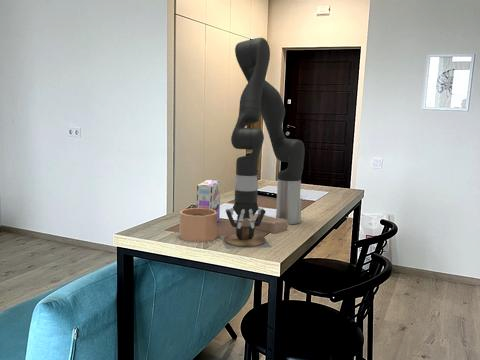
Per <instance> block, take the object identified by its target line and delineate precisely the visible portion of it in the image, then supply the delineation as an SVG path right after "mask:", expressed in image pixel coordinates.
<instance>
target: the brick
mask: <svg viewBox="0 0 480 360" xmlns="http://www.w3.org/2000/svg"><path fill="white" fill-rule="evenodd" d="M257 216H258V213H255V214H254V216H253V219H254V222H255V221H256V218H257ZM241 226H249V227H250V225H249V220H248V218H244V219H243V221H242V224H241ZM288 227H289V224H288V221H287V220H285V219H281V218H276V217H273V216H269V215H266V214H264V217H263V219H262V221H261V223H260V225H259V226H256V227H255V228H254V230H255V229H256V230H258V231H263V232H266V233H269V234H279V233H281V232H285V231H287V230H288Z"/></svg>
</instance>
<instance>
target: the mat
mask: <svg viewBox="0 0 480 360" xmlns="http://www.w3.org/2000/svg"><path fill="white" fill-rule="evenodd" d="M227 235H228V234H227ZM227 235H219V238H220V240H221V242H222V243H223V245H224V247H225V249H230V250H231V249H251V248H252V249H253V248H257V249H258V248H259V249H261V248H273V247H272V244H270V243H269V242H268V240H266V242H265V244H263V245H261V246H256V247H237V246H232V245H229V244H226V243H225V242H224V237H225V236H227ZM258 235H260V236H263V235H262V234H260V233H259V234H258Z"/></svg>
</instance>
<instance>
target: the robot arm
mask: <svg viewBox="0 0 480 360" xmlns="http://www.w3.org/2000/svg"><path fill="white" fill-rule="evenodd" d="M270 51H271V48H270V45H269V43H268V40H267V39H266V38H265V37H256V38H251V39H247V40H243V41H239V42H238V43H236V45H235V48H234V53H235V54H234V55H235V58H236V61H237V64H238V66H239V68H240V70H241V72H242V74H243V75H244V78H245V80H246V82H247V83H246V85H245V87H244V88H243V91H242V93H241V95H240V99H239V108H238V110H239V111H238V117H237V120H236V124H235V125H234V128H233V130H232V134H231V137H230V142H231V146H232V147H233V148H234V149H235V150H236V149H237V150H251V153H250V154H248V155H243V156H239V157H237V158H236V162H235V166H236V167H235V181H234V204H233V206H232V207H231V208H229V209H228V208H226V209H225V213H226V216H227V219H228V220H229V223H230V225H231V226H232V227H233V228H236V229H235V234H236V236H237V238H238V239H241V226H242V224H243V223H242V221H243V219H244V218H248V220H249V225H250V239H252V237H254V234H255V227H256V226H259V225H260V223H261V221H262V219H263V217H264V215H266V210H265V209H264V208H261V207H259V206H258V189H259V182H258V181H259V180H258V164H259V163H258V162H259V158H260V157H259V156H260V153H261V150H262V146H263V145H264V140H265V135H264V132H263V131H262V129H261V128H258V127H247V126H249V125H252V124H256V123H259V122H260V119H261V118H262V119H263V122H264V124H265V128H266V130H267V133H268V137H269V140H270V143H271V146H272V150H273V153H274V156H275V159H277V160H278V161H280V162H283V163H288V164H287V168H286V169H283V170H280V171H278V172H277V182H276V183H277V186H276V189H277V190H276V211H275V212H276V215H275V218H281V219H285V220H287V221H288V225H297V224H301V223H302V222H301V221H302V203H303V202H302V201H303V200H302V199H301V190H302V189H301V186H302V175H303V172H304V171H303V170H304V164H305V163H304V162H305V145H304V142H303V141H302V140H300V139H294V138H287V137H286V135H285V133H284V130H283V123H284V119H285V115H286V107H285V104H284V101H283V98H282V96H281V94H280V92H279V91H278V90H277V89H276V88H275V87H274V85H272V84H270V82H268V81H267V80H266V76H267V73H268V68H269V63H270V58H271V52H270ZM260 117H261V118H260ZM234 213H235V214H236V215H237V217H236V222H235V221H234V218H233V216H234ZM254 214H258V216H257V218H256V221H255V222H254V219H253V216H254Z"/></svg>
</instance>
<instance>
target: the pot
mask: <svg viewBox="0 0 480 360" xmlns="http://www.w3.org/2000/svg"><path fill="white" fill-rule="evenodd" d="M195 214H201V215H205V216H192V215H195ZM217 236H218V222H217V212H216V211H215V210H212V209H205V208H197V207H196V208H195V207H191V208H184V209H182V210H180V211H179V238H180V239H181V240H183V241H187V242H194V243H195V242H196V243H201V242H202V243H205V242H209V241H213V240H215V239H217V238H218V237H217Z"/></svg>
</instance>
